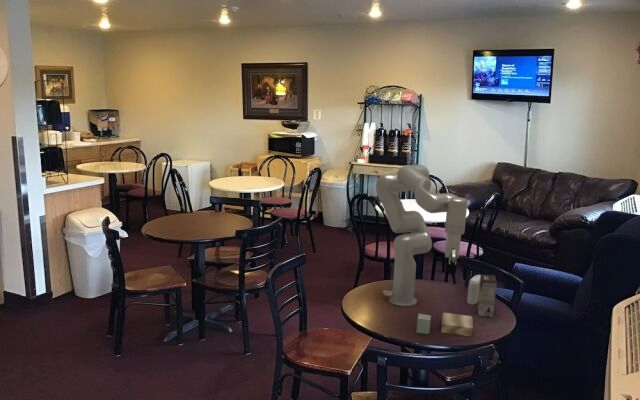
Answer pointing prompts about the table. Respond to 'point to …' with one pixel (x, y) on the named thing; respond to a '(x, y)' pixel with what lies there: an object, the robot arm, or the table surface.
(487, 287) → the coffee box
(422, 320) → the sage block
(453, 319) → the maple base
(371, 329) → the table surface
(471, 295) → the photo printer
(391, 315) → the table surface
